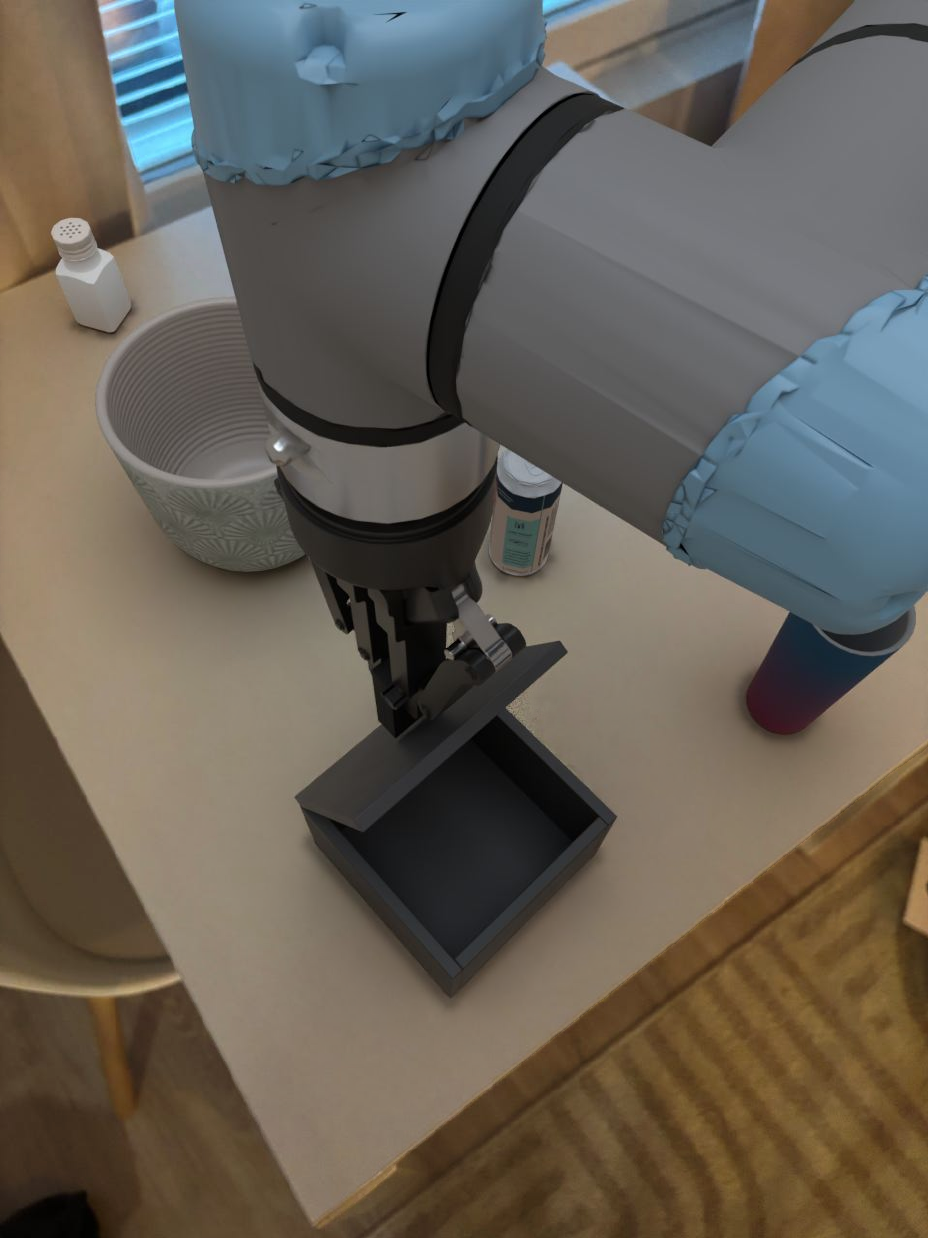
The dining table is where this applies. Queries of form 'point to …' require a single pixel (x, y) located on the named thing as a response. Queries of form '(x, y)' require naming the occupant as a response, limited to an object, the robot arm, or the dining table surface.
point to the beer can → (522, 515)
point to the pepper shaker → (89, 277)
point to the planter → (197, 436)
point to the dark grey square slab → (418, 746)
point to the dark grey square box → (471, 849)
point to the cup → (817, 670)
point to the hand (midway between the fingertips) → (405, 713)
